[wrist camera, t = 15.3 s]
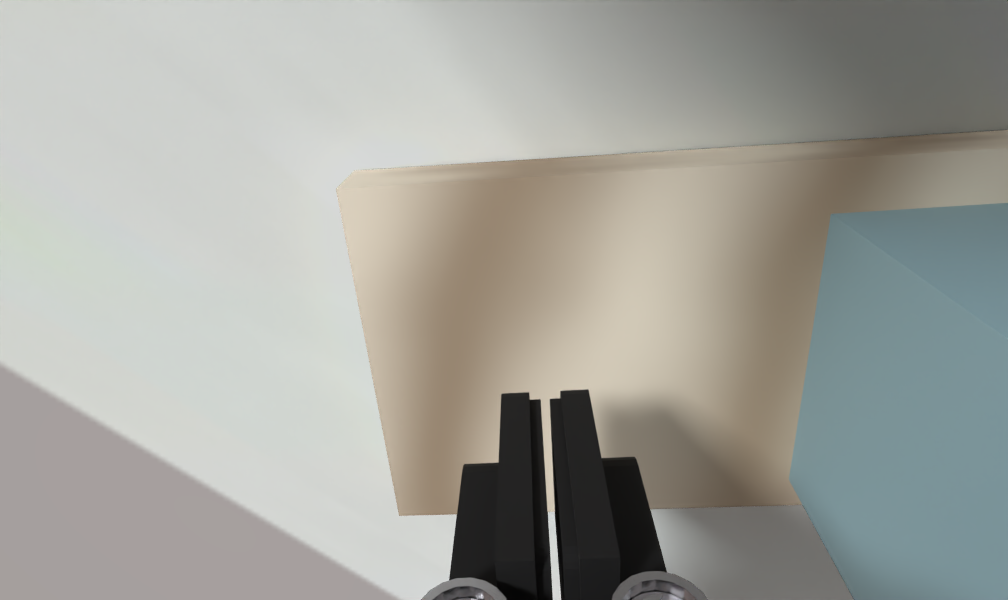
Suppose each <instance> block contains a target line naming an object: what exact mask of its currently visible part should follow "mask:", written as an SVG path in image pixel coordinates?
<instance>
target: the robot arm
mask: <svg viewBox="0 0 1008 600" xmlns="http://www.w3.org/2000/svg"><path fill="white" fill-rule="evenodd" d="M550 419H551V441H552V462H553V484H554V505H555V522H556V535H557V548H558V562H559V575H560V588H561V600H708V599H707V597H706V596H705V595H704V593H703V592H702V591H701V590H700V589H698V588H697V587H696V586H695V585H694V584H692V583H691V582H690V581H688V580H686V579H684V578H682V577H680V576H678V575H675V574H671V573H667V571H666V567H665V564H664V560H663V556H662V552H661V549H660V545H659V541H658V537H657V533H656V530H655V526H654V522H653V518H652V515H651V511H650V507H649V503H648V500H647V496H646V492H645V488H644V484H643V481H642V477H641V473H640V469H639V466H638V463H637V459H636V458H635V457H615V458H601V452H600V447H599V442H598V436H597V431H596V426H595V420H594V415H593V410H592V404H591V399H590V394H589V390H588V389H585V390H564V391H560V398H555V399H550ZM421 600H553V599H552V580H551V561H550V544H549V528H548V511H547V495H546V479H545V462H544V446H543V430H542V413H541V399H534V400H530V396H529V392H523V393H503V394H501V412H500V437H499V463H476V464H464V465H463V469H462V476H461V485H460V493H459V502H458V510H457V519H456V527H455V536H454V544H453V553H452V562H451V570H450V579H449V581H446V582H443V583H441V584H439V585H438V586H436V587H435V588H433V589H431V590H430V591H429V592H428V593H427V594H426V595H425V596H424V597H423V598H422V599H421Z"/></svg>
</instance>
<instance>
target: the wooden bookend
mask: <svg viewBox="0 0 1008 600" xmlns="http://www.w3.org/2000/svg"><path fill="white" fill-rule="evenodd" d="M336 192H337V197H338V202H339V207H340V212H341V218H342V223H343V228H344V233H345V238H346V243H347V248H348V254H349V259H350V264H351V269H352V274H353V279H354V285H355V290H356V295H357V300H358V305H359V310H360V316H361V321H362V326H363V331H364V336H365V341H366V347H367V352H368V357H369V362H370V367H371V372H372V378H373V383H374V388H375V393H376V398H377V403H378V409H379V414H380V419H381V424H382V429H383V434H384V440H385V445H386V450H387V455H388V460H389V465H390V471H391V476H392V481H393V486H394V491H395V496H396V502H397V507H398V512H399V516H408V515H445V514H457V510H458V502H459V493H460V485H461V476H462V469H463V465H464V464H476V463H499V437H500V412H501V394H503V393H523V392H529V396H530V400H534V399H541V413H542V430H543V446H544V462H545V479H546V495H547V511H548V512H555V505H554V484H553V462H552V441H551V419H550V399H555V398H560V391H564V390H585V389H588V390H589V394H590V399H591V404H592V410H593V415H594V420H595V426H596V431H597V436H598V442H599V447H600V452H601V458H615V457H635V458H636V459H637V463H638V466H639V469H640V473H641V477H642V481H643V484H644V488H645V492H646V496H647V500H648V503H649V507H650V509H667V508H704V507H741V506H778V505H802V503H801V501H800V499H799V497H798V496H797V494H796V492H795V490H794V488H793V486H792V485H791V483H790V481H789V475H790V468H791V462H792V456H793V449H794V443H795V437H796V430H797V424H798V418H799V412H800V405H801V399H802V393H803V386H804V380H805V374H806V367H807V361H808V355H809V349H810V342H811V336H812V330H813V323H814V317H815V311H816V305H817V298H818V292H819V286H820V279H821V273H822V267H823V260H824V254H825V248H826V242H827V235H828V229H829V223H830V216H831V214H837V213H853V212H869V211H885V210H901V209H917V208H933V207H949V206H965V205H981V204H997V203H1008V130H996V131H980V132H964V133H948V134H932V135H916V136H900V137H884V138H868V139H852V140H836V141H820V142H804V143H788V144H772V145H756V146H740V147H724V148H708V149H692V150H676V151H660V152H644V153H628V154H612V155H596V156H580V157H564V158H548V159H532V160H516V161H500V162H484V163H468V164H452V165H436V166H420V167H404V168H388V169H372V170H356V171H353V172H352V173H351V174H350V175H349V176H348V177H347V178H346V179H345V180H344V181H343V182H342V183H341V184H340V185H339V186H338V187H337V188H336Z"/></svg>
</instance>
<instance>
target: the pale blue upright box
mask: <svg viewBox="0 0 1008 600" xmlns="http://www.w3.org/2000/svg"><path fill="white" fill-rule="evenodd" d="M789 481H790V483H791V485H792V486H793V488H794V490H795V492H796V494H797V496H798V497H799V499H800V501H801V503H802V505H803V507H804V509H805V510H806V512H807V514H808V516H809V518H810V520H811V521H812V523H813V525H814V527H815V529H816V531H817V532H818V534H819V536H820V538H821V540H822V542H823V544H824V545H825V547H826V549H827V551H828V553H829V555H830V556H831V558H832V560H833V562H834V564H835V566H836V567H837V569H838V571H839V573H840V575H841V577H842V578H843V580H844V582H845V584H846V586H847V588H848V590H849V591H850V593H851V595H852V597H853V599H854V600H1008V203H997V204H981V205H965V206H949V207H933V208H917V209H901V210H885V211H869V212H853V213H837V214H831V216H830V223H829V229H828V235H827V242H826V248H825V254H824V260H823V267H822V273H821V279H820V286H819V292H818V298H817V305H816V311H815V317H814V323H813V330H812V336H811V342H810V349H809V355H808V361H807V367H806V374H805V380H804V386H803V393H802V399H801V405H800V412H799V418H798V424H797V430H796V437H795V443H794V449H793V456H792V462H791V468H790V475H789Z"/></svg>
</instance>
